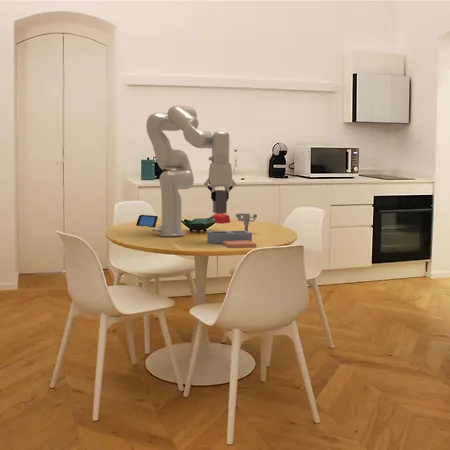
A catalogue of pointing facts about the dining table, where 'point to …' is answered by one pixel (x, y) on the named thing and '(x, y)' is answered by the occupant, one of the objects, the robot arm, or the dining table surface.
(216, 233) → the blue-grey tray
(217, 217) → the butter dish
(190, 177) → the robot arm
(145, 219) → the tablet display
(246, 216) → the mechanical component
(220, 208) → the block
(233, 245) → the terracotta mat
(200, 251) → the dining table surface
